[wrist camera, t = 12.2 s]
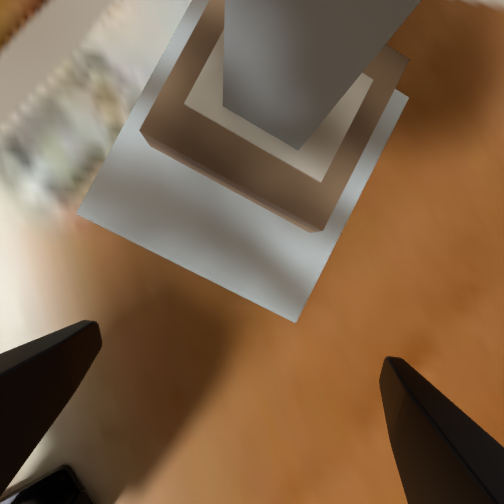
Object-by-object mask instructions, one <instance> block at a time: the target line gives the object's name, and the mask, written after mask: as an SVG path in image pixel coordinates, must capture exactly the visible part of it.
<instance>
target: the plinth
mask: <svg viewBox="0 0 504 504" xmlns="http://www.w3.org/2000/svg"><path fill="white" fill-rule="evenodd" d="M224 20H225V0H192V1H191V3H190V5H189V7H188V9H187V11H186V12H185V14H184V16H183V18H182V20H181V22H180V23H179V25H178V27H177V29H176V31H175V33H174V34H173V36H172V38H171V40H170V42H169V44H168V45H167V47H166V49H165V51H164V53H163V55H162V56H161V58H160V60H159V62H158V64H157V66H156V67H155V69H154V71H153V73H152V75H151V77H150V78H149V80H148V82H147V84H146V86H145V88H144V89H143V91H142V93H141V95H140V97H139V99H138V100H137V102H136V104H135V106H134V108H133V110H132V111H131V113H130V115H129V117H128V119H127V121H126V123H125V124H124V126H123V128H122V130H121V132H120V134H119V135H118V137H117V139H116V141H115V143H114V145H113V146H112V148H111V150H110V152H109V154H108V156H107V157H106V159H105V161H104V163H103V165H102V167H101V168H100V170H99V172H98V174H97V176H96V178H95V179H94V181H93V183H92V185H91V187H90V189H89V190H88V192H87V194H86V196H85V198H84V200H83V201H82V203H81V205H80V207H79V209H78V211H77V212H76V214H77V215H79V216H81V217H83V218H85V219H87V220H89V221H91V222H93V223H95V224H97V225H99V226H101V227H103V228H105V229H107V230H110V231H112V232H114V233H116V234H118V235H120V236H122V237H124V238H126V239H128V240H130V241H132V242H134V243H136V244H138V245H140V246H142V247H144V248H146V249H148V250H150V251H152V252H154V253H156V254H158V255H160V256H162V257H164V258H166V259H168V260H170V261H172V262H174V263H176V264H178V265H180V266H182V267H184V268H186V269H188V270H190V271H192V272H194V273H196V274H198V275H200V276H202V277H204V278H206V279H208V280H210V281H212V282H214V283H216V284H218V285H220V286H222V287H224V288H226V289H228V290H230V291H232V292H234V293H236V294H238V295H240V296H242V297H244V298H246V299H248V300H250V301H252V302H254V303H256V304H258V305H260V306H262V307H264V308H266V309H268V310H270V311H272V312H274V313H276V314H278V315H280V316H282V317H284V318H286V319H288V320H290V321H292V322H294V323H296V322H297V320H298V318H299V316H300V314H301V312H302V310H303V308H304V306H305V304H306V302H307V300H308V298H309V296H310V294H311V292H312V290H313V288H314V286H315V284H316V282H317V280H318V278H319V276H320V274H321V272H322V270H323V268H324V266H325V264H326V262H327V260H328V258H329V256H330V254H331V252H332V250H333V248H334V246H335V244H336V242H337V240H338V238H339V236H340V234H341V232H342V230H343V228H344V226H345V224H346V222H347V220H348V218H349V216H350V214H351V212H352V210H353V208H354V206H355V204H356V202H357V200H358V198H359V196H360V194H361V192H362V190H363V188H364V186H365V184H366V182H367V180H368V178H369V176H370V174H371V172H372V170H373V169H374V167H375V165H376V163H377V161H378V159H379V157H380V155H381V153H382V151H383V149H384V147H385V145H386V143H387V141H388V139H389V137H390V135H391V133H392V131H393V129H394V127H395V125H396V123H397V121H398V119H399V117H400V115H401V113H402V111H403V109H404V107H405V105H406V103H407V101H408V99H409V97H408V96H406V95H404V94H403V93H401V92H400V91H398V90H396V89H395V88H396V86H397V84H398V82H399V80H400V78H401V76H402V74H403V72H404V70H405V68H406V66H407V64H408V62H409V60H410V59H408V58H407V57H405V56H404V55H402V54H401V53H399V52H398V51H396V50H394V49H393V48H391V47H390V46H388V45H387V44H385V45H384V47H383V48H382V49H381V50H380V52H379V53H378V54H377V55H376V56H375V58H374V59H373V60H372V61H371V63H370V64H369V65H368V66H367V67H366V69H365V70H364V71H363V72H362V74H361V75H360V76H359V77H358V78H357V80H356V81H355V82H354V83H353V85H352V86H351V87H350V88H349V89H348V91H347V92H346V93H345V94H344V95H343V97H342V98H341V99H340V100H339V102H338V103H337V104H336V105H335V106H334V108H333V109H332V110H331V111H330V113H329V114H328V115H327V116H326V117H325V119H324V120H323V121H322V122H321V124H320V125H319V126H318V127H317V128H316V130H315V131H314V132H313V133H312V135H311V136H310V137H309V138H308V139H307V141H306V142H305V143H304V144H303V146H302V147H301V148H300V149H299V150H296V149H295V148H293V147H291V146H289V145H288V144H286V143H284V142H283V141H281V140H279V139H278V138H276V137H274V136H272V135H271V134H269V133H267V132H266V131H264V130H262V129H261V128H259V127H257V126H255V125H254V124H252V123H250V122H249V121H247V120H245V119H244V118H242V117H240V116H238V115H237V114H235V113H233V112H232V111H230V110H228V109H227V108H225V107H223V64H224Z"/></svg>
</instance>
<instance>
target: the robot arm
mask: <svg viewBox="0 0 504 504" xmlns="http://www.w3.org/2000/svg"><path fill="white" fill-rule="evenodd" d="M101 347H102V338H101V333H100V329H99V325H98V323H97V322H95V321H89V320H83V321H80V322H78V323H75V324H73V325H70V326H68V327H65V328H63V329H60V330H58V331H55V332H53V333H50V334H48V335H46V336H43V337H41V338H38V339H36V340H33V341H31V342H28V343H26V344H23V345H21V346H18V347H16V348H13V349H11V350H8V351H6V352H4V353H1V354H0V496H1V495H2V494H3V492H4V491H5V489H6V488H7V487H8V485H9V484H10V482H11V481H12V480H13V478H14V477H15V475H16V474H17V473H18V471H19V470H20V468H21V467H22V466H23V464H24V463H25V461H26V460H27V459H28V457H29V456H30V454H31V453H32V452H33V450H34V449H35V448H36V446H37V445H38V443H39V442H40V441H41V439H42V438H43V436H44V435H45V434H46V432H47V431H48V429H49V428H50V427H51V425H52V424H53V422H54V421H55V420H56V418H57V417H58V415H59V414H60V413H61V411H62V410H63V408H64V407H65V406H66V404H67V403H68V401H69V400H70V399H71V397H72V396H73V394H74V393H75V391H76V390H77V388H78V386H79V385H80V383H81V381H82V380H83V378H84V376H85V375H86V373H87V371H88V370H89V368H90V366H91V364H92V363H93V361H94V359H95V358H96V356H97V354H98V353H99V351H100V349H101ZM379 384H380V391H381V396H382V402H383V407H384V412H385V418H386V423H387V429H388V434H389V439H390V443H391V447H392V451H393V454H394V458H395V461H396V464H397V468H398V471H399V475H400V478H401V481H402V485H403V488H404V492H405V495H406V498H407V502H408V504H504V447H503V446H502V445H500V444H499V443H498V442H497V441H496V440H495V439H494V438H492V437H491V436H490V435H489V434H488V433H487V432H486V431H484V430H483V429H482V428H481V427H480V426H479V425H478V424H477V423H475V422H474V421H473V420H472V419H471V418H470V417H469V416H467V415H466V414H465V413H464V412H463V411H462V410H461V409H459V408H458V407H457V406H456V405H455V404H454V403H453V402H451V401H450V400H449V399H448V398H447V397H446V396H445V395H443V394H442V393H441V392H440V391H439V390H438V389H437V388H435V387H434V386H433V385H432V384H431V383H430V382H429V381H427V380H426V379H425V378H424V377H423V376H422V375H421V374H420V373H418V372H417V371H416V370H415V369H414V368H413V367H412V366H410V365H409V364H408V363H407V362H406V361H405V360H403V359H402V358H399V357H391V356H387V357H386V358H385V359H384V363H383V367H382V370H381V374H380V379H379ZM61 473H63V474H64V475H65V476H62V475H61ZM0 504H93V502H92V501H91V499H90V497H89V496H88V494H87V492H86V491H85V489H84V487H83V486H82V484H81V483H80V481H79V479H78V478H77V476H76V474H75V473H74V471H73V469H72V468H71V467H70V466H69V465H62V466H60V467H58V468H56V469H54V470H53V471H51V472H49V473H47V474H45V475H44V476H42V477H40V478H38V479H37V480H35V481H33V482H31V483H30V484H28V485H26V486H24V487H23V488H21V489H19V490H17V491H16V492H14V493H12V494H10V495H8V496H7V497H5V498H3V499H1V500H0Z"/></svg>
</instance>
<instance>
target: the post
mask: <svg viewBox="0 0 504 504" xmlns="http://www.w3.org/2000/svg"><path fill="white" fill-rule="evenodd" d="M420 1H421V0H225V20H224V64H223V107H225V108H227V109H228V110H230V111H232V112H233V113H235V114H237V115H238V116H240V117H242V118H244V119H245V120H247V121H249V122H250V123H252V124H254V125H255V126H257V127H259V128H261V129H262V130H264V131H266V132H267V133H269V134H271V135H272V136H274V137H276V138H278V139H279V140H281V141H283V142H284V143H286V144H288V145H289V146H291V147H293V148H295V149H296V150H299V149H300V148H301V147H302V146H303V144H304V143H305V142H306V141H307V139H308V138H309V137H310V136H311V135H312V133H313V132H314V131H315V130H316V128H317V127H318V126H319V125H320V124H321V122H322V121H323V120H324V119H325V117H326V116H327V115H328V114H329V113H330V111H331V110H332V109H333V108H334V106H335V105H336V104H337V103H338V102H339V100H340V99H341V98H342V97H343V95H344V94H345V93H346V92H347V91H348V89H349V88H350V87H351V86H352V85H353V83H354V82H355V81H356V80H357V78H358V77H359V76H360V75H361V74H362V72H363V71H364V70H365V69H366V67H367V66H368V65H369V64H370V63H371V61H372V60H373V59H374V58H375V56H376V55H377V54H378V53H379V52H380V50H381V49H382V48H383V47H384V45H385V44H386V43H387V42H388V41H389V39H390V38H391V37H392V36H393V34H394V33H395V32H396V31H397V30H398V28H399V27H400V26H401V25H402V23H403V22H404V21H405V20H406V19H407V17H408V16H409V15H410V14H411V12H412V11H413V10H414V9H415V8H416V6H417V5H418V4H419V3H420Z"/></svg>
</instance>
